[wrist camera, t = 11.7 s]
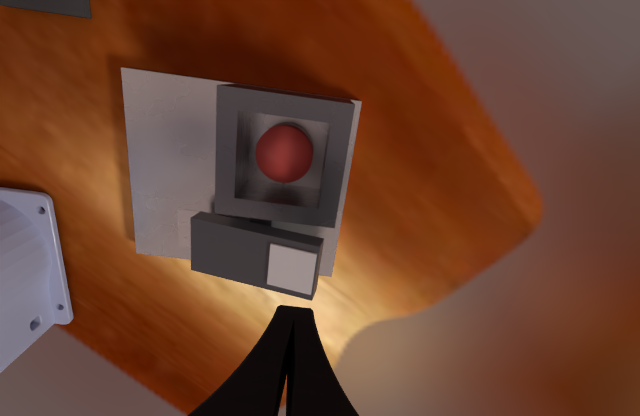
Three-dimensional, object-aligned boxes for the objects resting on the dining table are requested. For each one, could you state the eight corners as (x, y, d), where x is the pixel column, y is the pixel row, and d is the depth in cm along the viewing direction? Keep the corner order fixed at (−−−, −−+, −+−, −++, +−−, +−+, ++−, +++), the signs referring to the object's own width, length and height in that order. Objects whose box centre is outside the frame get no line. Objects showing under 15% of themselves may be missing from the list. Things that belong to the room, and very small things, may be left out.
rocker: (316, 289, 18) (311, 301, 17) (200, 261, 19) (189, 270, 18) (324, 238, 17) (319, 248, 16) (201, 211, 18) (189, 218, 17)
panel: (331, 269, 21) (332, 308, 18) (143, 246, 21) (106, 281, 17) (360, 100, 17) (369, 106, 14) (129, 67, 17) (78, 65, 13)
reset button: (309, 177, 18) (308, 186, 17) (259, 171, 18) (253, 179, 17) (316, 126, 17) (315, 130, 16) (262, 118, 17) (256, 122, 15)
